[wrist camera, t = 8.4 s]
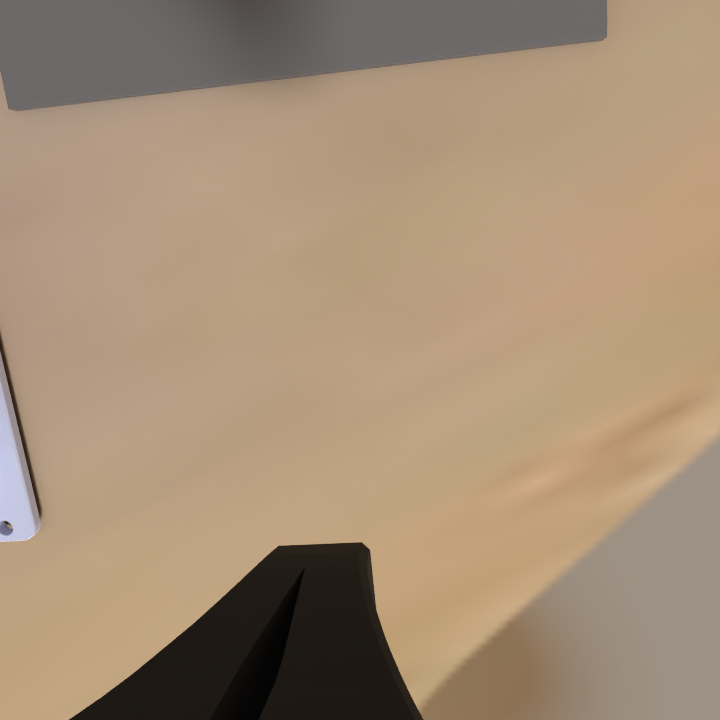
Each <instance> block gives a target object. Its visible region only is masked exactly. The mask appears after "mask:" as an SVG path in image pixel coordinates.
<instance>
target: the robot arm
mask: <svg viewBox="0 0 720 720" xmlns="http://www.w3.org/2000/svg"><path fill="white" fill-rule="evenodd" d="M5 521H8V522H9V523H10V524H11V525H12V527H13V529H10V528H9V527H7V526H6V524H5ZM40 527H41V526H40V518H39V513H38V509H37V505H36V501H35V497H34V492H33V488H32V484H31V480H30V475H29V471H28V467H27V463H26V458H25V454H24V450H23V446H22V441H21V437H20V433H19V429H18V425H17V420H16V416H15V412H14V408H13V403H12V399H11V395H10V391H9V386H8V382H7V378H6V374H5V369H4V365H3V361H2V357H1V353H0V542H6V541H24V540H28V539H30V538H31V537H33V536H34V535H35V534H36V533H37V532H38V531H39V529H40ZM69 720H423V718H422V716H421V715H420V713H419V711H418V709H417V707H416V705H415V703H414V701H413V699H412V697H411V695H410V693H409V691H408V689H407V687H406V685H405V683H404V681H403V679H402V677H401V674H400V672H399V670H398V667H397V665H396V663H395V660H394V658H393V656H392V653H391V651H390V648H389V646H388V643H387V641H386V638H385V635H384V633H383V630H382V627H381V623H380V620H379V617H378V614H377V611H376V604H375V594H374V584H373V575H372V565H371V555H370V549H368V548H367V547H366V546H365V545H364V544H363V543H362V542H361V543H337V544H313V545H289V546H278V547H277V548H276V549H274V550H273V551H272V552H271V553H270V554H269V555H267V556H266V557H265V558H264V559H263V560H262V561H261V562H260V563H259V564H258V565H257V566H256V567H254V568H253V569H252V570H251V571H250V572H249V573H248V574H247V575H246V576H245V577H244V578H243V579H242V580H241V581H240V582H239V583H238V584H236V585H235V586H234V587H233V588H232V589H231V590H230V591H229V592H228V593H227V594H226V595H225V596H223V597H222V598H221V599H220V600H219V601H218V602H217V603H216V604H215V605H214V606H213V607H211V608H210V609H209V610H208V611H207V612H206V613H205V614H204V615H203V616H202V617H200V618H199V619H198V620H197V621H196V622H195V623H194V624H193V625H191V626H190V627H189V628H188V629H187V630H185V631H184V632H183V633H182V634H181V635H179V636H178V637H177V638H176V639H175V640H173V641H172V642H171V643H170V644H168V645H167V646H166V647H165V648H164V649H162V650H161V651H160V652H159V653H158V654H156V655H155V656H154V657H153V658H152V659H150V660H149V661H148V662H147V663H146V664H144V665H143V666H142V667H141V668H140V669H138V670H137V671H136V672H135V673H133V674H132V675H131V676H129V677H128V678H127V679H125V680H124V681H123V682H121V683H120V684H119V685H117V686H116V687H115V688H113V689H112V690H111V691H109V692H108V693H107V694H105V695H104V696H103V697H101V698H100V699H98V700H97V701H95V702H94V703H93V704H91V705H90V706H88V707H87V708H85V709H84V710H82V711H81V712H80V713H78V714H77V715H75V716H74V717H72V718H71V719H69Z"/></svg>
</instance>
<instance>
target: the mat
mask: <svg viewBox="0 0 720 720" xmlns="http://www.w3.org/2000/svg"><path fill="white" fill-rule="evenodd" d="M606 37H607V0H0V71H1V76H2V81H3V85H4V90H5V95H6V99H7V104H8V109H11V110H15V111H20V110H29V109H37V108H45V107H53V106H62V105H70V104H78V103H87V102H95V101H103V100H111V99H120V98H128V97H136V96H145V95H153V94H161V93H170V92H178V91H186V90H194V89H203V88H211V87H219V86H228V85H236V84H244V83H253V82H261V81H269V80H277V79H286V78H294V77H302V76H311V75H319V74H327V73H336V72H344V71H352V70H360V69H369V68H377V67H385V66H394V65H402V64H410V63H418V62H427V61H435V60H443V59H452V58H460V57H468V56H477V55H485V54H493V53H501V52H510V51H518V50H526V49H535V48H543V47H551V46H560V45H568V44H576V43H584V42H593V41H601V40H603V39H605V38H606Z"/></svg>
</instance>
